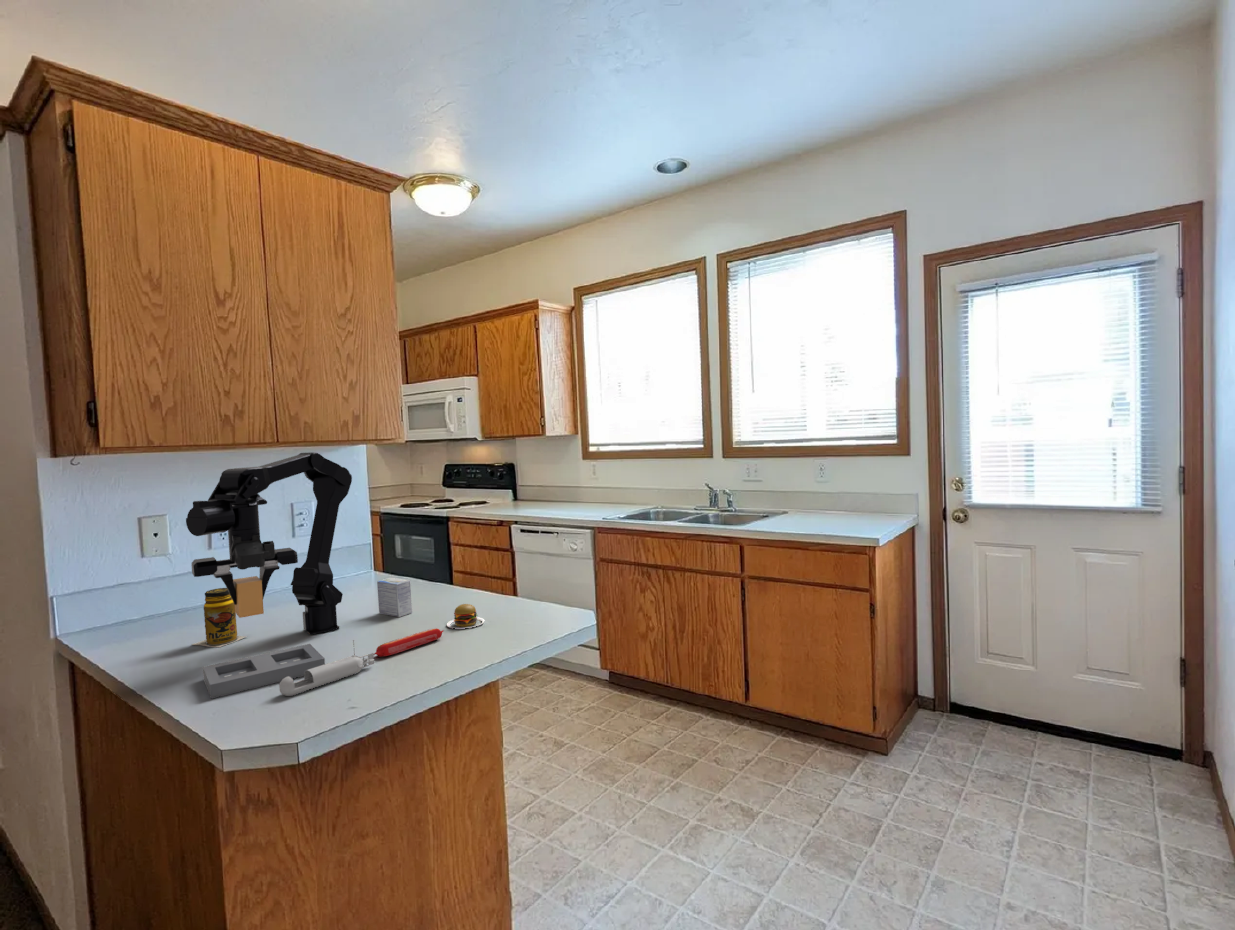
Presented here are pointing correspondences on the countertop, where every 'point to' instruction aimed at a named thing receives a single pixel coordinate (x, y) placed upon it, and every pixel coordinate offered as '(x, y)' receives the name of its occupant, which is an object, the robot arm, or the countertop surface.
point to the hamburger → (465, 616)
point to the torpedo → (325, 674)
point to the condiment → (219, 619)
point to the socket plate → (260, 670)
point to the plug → (248, 596)
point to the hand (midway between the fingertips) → (248, 602)
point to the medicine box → (394, 597)
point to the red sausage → (408, 642)
